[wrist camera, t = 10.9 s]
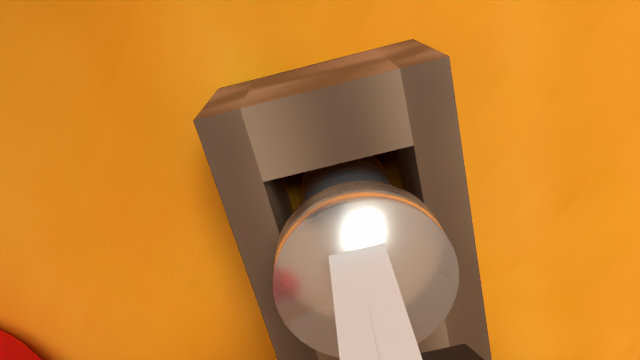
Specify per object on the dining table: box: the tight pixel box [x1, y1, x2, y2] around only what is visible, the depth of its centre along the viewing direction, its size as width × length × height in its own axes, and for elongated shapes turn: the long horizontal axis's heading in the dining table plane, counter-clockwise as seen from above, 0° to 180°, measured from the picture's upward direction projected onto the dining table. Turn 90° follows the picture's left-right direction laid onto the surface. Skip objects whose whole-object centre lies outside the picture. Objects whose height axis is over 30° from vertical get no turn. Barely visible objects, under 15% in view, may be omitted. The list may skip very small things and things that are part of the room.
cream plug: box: [273, 156, 459, 358], centre depth 17 cm, size 5×5×7 cm
